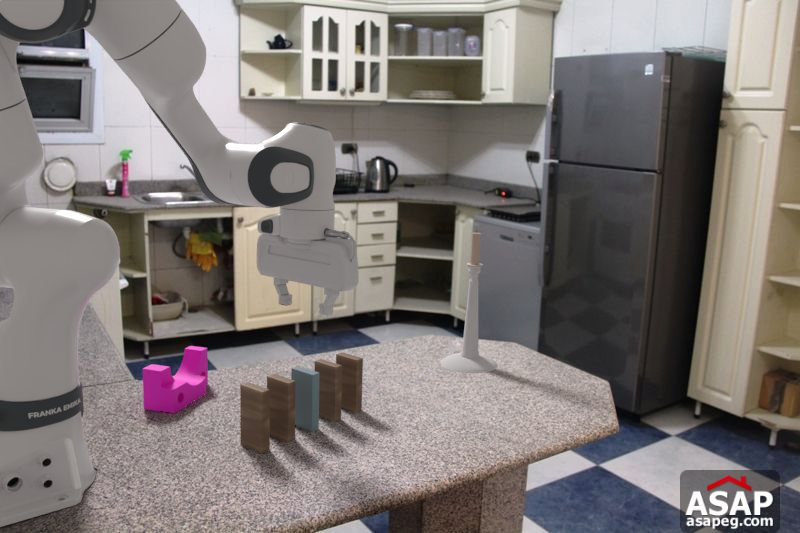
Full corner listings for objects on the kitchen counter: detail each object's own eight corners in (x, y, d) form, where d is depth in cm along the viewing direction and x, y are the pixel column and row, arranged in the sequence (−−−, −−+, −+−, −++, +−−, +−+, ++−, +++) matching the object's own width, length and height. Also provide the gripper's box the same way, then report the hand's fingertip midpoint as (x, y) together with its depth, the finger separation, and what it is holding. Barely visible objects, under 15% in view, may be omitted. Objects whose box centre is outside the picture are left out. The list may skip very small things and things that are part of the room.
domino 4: (334, 422, 125) (335, 367, 123) (313, 415, 128) (314, 361, 126) (340, 420, 126) (342, 365, 125) (320, 412, 129) (321, 359, 128)
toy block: (174, 413, 127) (173, 373, 126) (143, 408, 129) (142, 368, 128) (219, 386, 141) (218, 349, 140) (191, 382, 143) (190, 345, 142)
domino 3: (297, 421, 125) (298, 366, 123) (318, 429, 122) (319, 372, 120) (291, 424, 124) (291, 368, 122) (311, 432, 121) (312, 375, 119)
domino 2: (287, 442, 117) (288, 383, 115) (266, 433, 120) (266, 376, 118) (295, 439, 118) (295, 380, 116) (274, 431, 121) (274, 373, 119)
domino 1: (261, 453, 112) (261, 392, 110) (240, 444, 115) (240, 384, 114) (269, 450, 114) (269, 389, 112) (248, 441, 117) (248, 382, 115)
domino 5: (355, 413, 129) (357, 360, 128) (335, 406, 132) (336, 354, 131) (361, 411, 131) (362, 358, 129) (341, 404, 134) (342, 352, 132)
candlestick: (494, 380, 150) (503, 236, 145) (434, 372, 153) (440, 232, 148) (502, 362, 162) (510, 229, 157) (446, 355, 166) (452, 225, 160)
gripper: (368, 231, 113) (365, 317, 116) (278, 219, 125) (277, 297, 128) (341, 234, 108) (338, 324, 111) (250, 221, 121) (249, 302, 123)
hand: (305, 309), depth 119 cm, fingers open, 8 cm apart
